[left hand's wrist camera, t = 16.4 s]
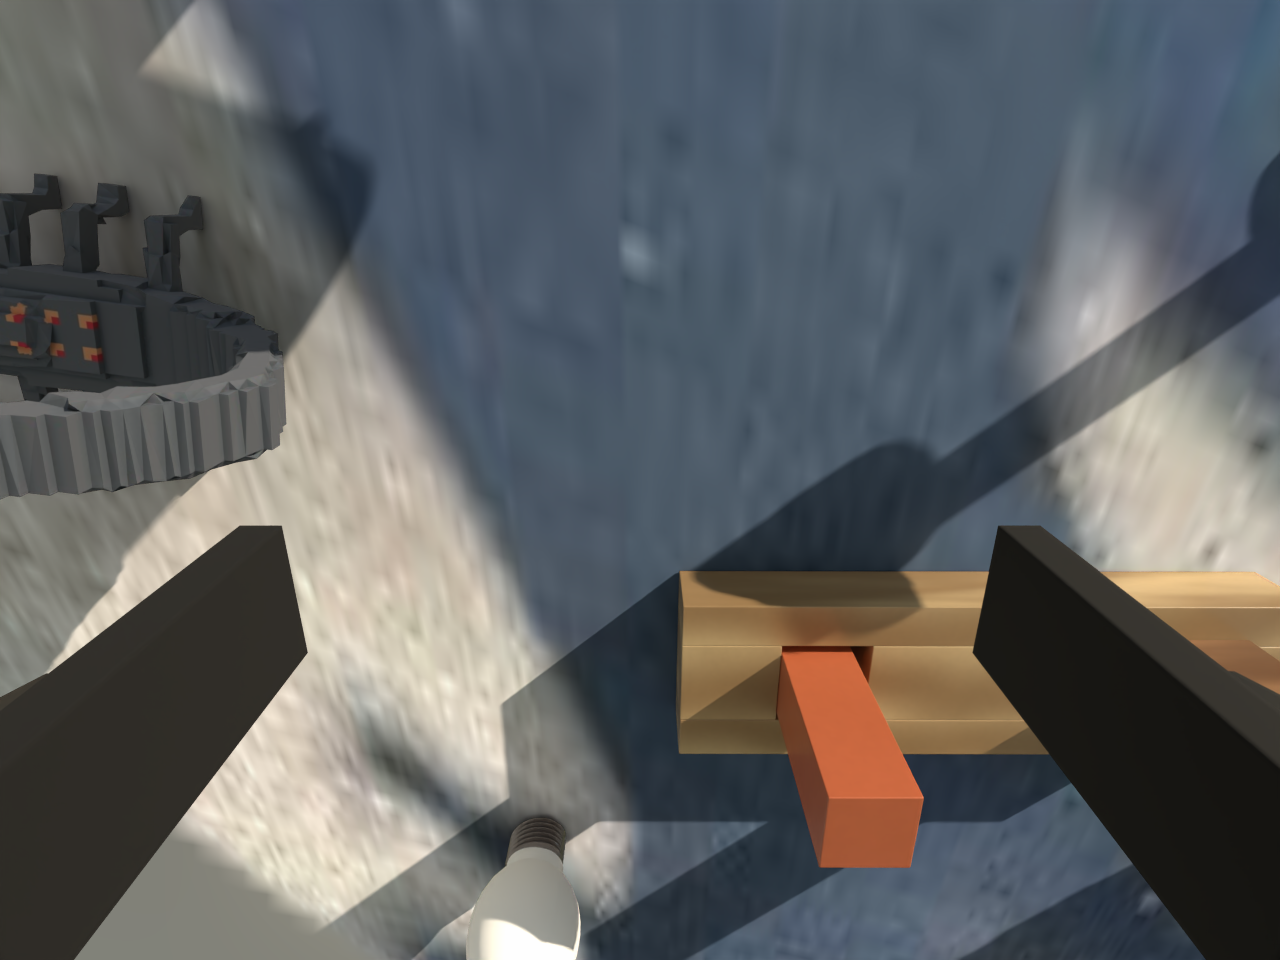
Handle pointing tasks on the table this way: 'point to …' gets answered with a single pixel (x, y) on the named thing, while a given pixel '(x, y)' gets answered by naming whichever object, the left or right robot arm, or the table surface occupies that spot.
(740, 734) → the board
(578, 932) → the light bulb
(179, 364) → the toy
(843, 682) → the peg
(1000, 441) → the table surface
